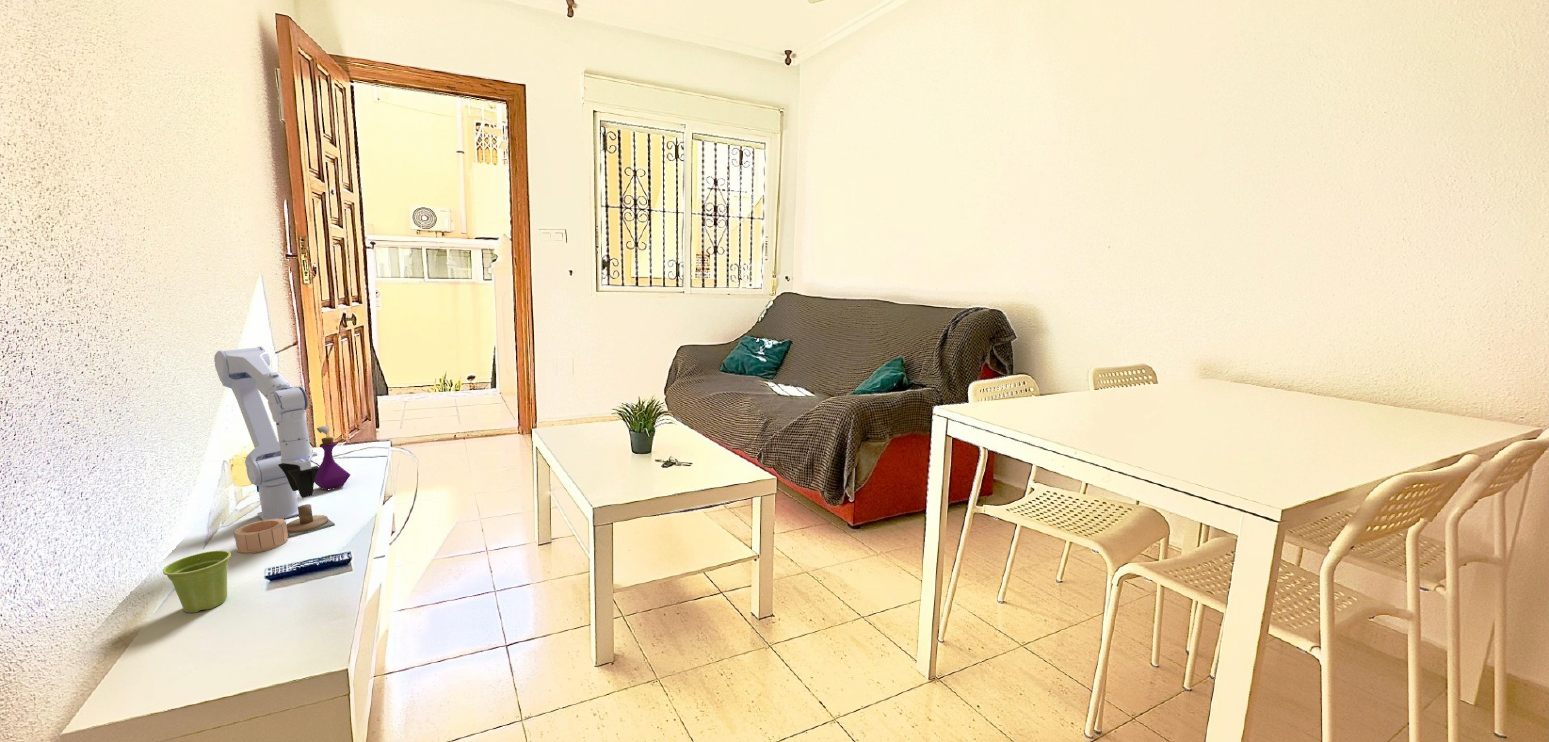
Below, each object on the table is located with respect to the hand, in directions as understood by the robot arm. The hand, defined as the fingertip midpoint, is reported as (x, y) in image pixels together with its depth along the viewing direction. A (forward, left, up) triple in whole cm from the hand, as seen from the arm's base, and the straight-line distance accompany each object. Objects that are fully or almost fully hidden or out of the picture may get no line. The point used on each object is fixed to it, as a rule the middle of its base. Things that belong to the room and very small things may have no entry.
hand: (302, 493), depth 154 cm
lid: (0, 0, -8) cm, 8 cm away
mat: (0, 0, -9) cm, 9 cm away
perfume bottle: (-30, +13, -9) cm, 33 cm away
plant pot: (+29, -23, -9) cm, 38 cm away
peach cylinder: (+4, -10, -9) cm, 14 cm away
